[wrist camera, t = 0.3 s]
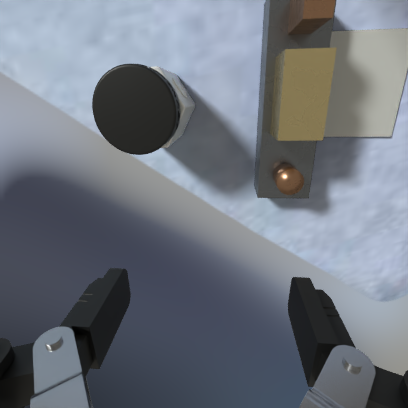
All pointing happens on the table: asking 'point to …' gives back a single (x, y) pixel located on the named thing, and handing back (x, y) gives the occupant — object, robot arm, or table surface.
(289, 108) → the lever cap
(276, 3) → the body
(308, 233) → the table surface
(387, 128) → the felt mat
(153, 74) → the jar
